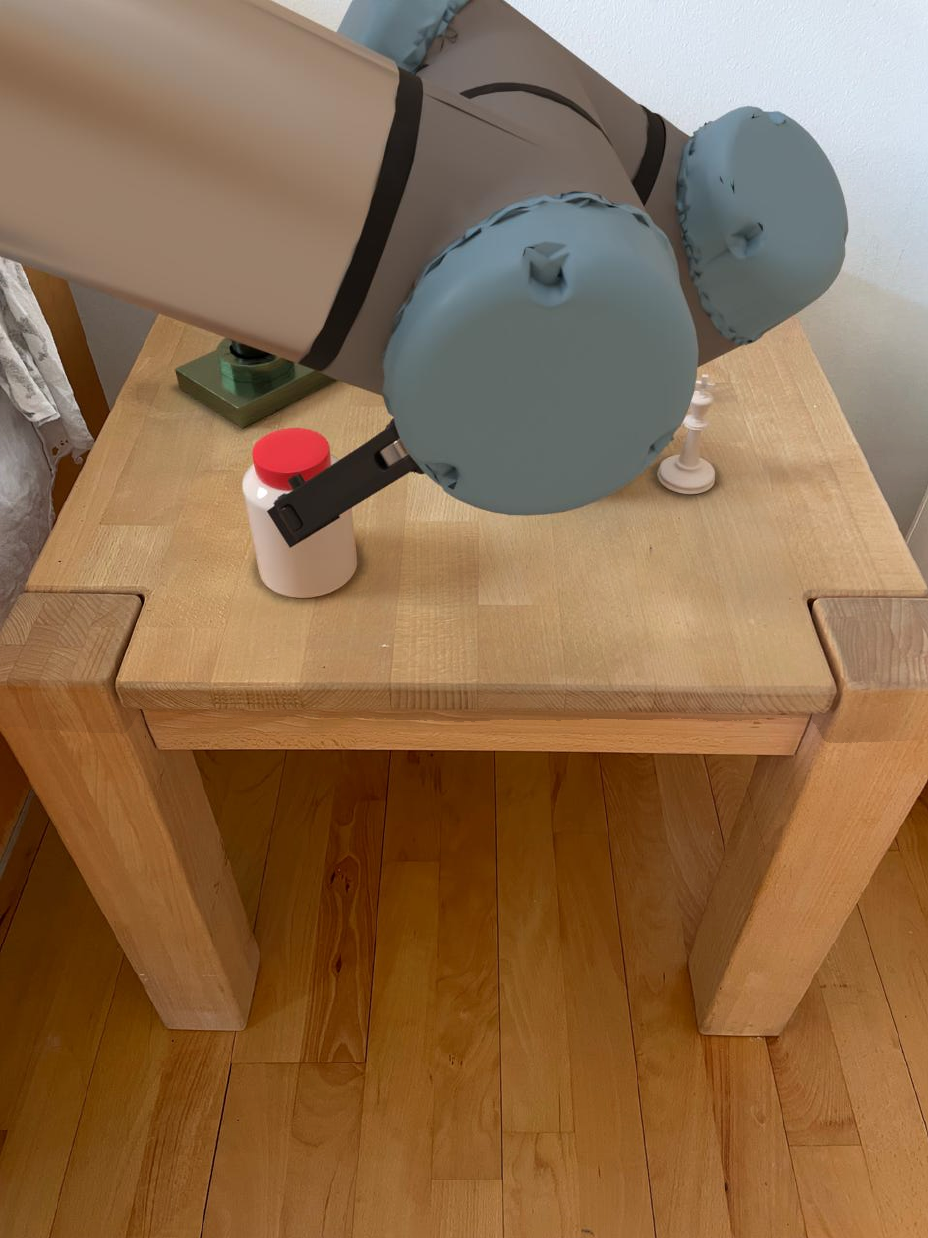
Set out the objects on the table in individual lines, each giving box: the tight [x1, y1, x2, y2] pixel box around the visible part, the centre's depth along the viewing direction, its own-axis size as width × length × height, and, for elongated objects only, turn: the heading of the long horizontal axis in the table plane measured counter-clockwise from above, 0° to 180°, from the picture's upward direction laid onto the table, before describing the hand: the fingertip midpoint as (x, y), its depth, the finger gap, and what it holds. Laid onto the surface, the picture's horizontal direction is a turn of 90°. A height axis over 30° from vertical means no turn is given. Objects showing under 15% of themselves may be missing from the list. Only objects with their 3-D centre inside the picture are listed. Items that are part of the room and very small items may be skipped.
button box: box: [174, 337, 337, 429], centre depth 96 cm, size 12×10×4 cm
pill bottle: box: [241, 427, 358, 599], centre depth 75 cm, size 8×8×11 cm
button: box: [231, 340, 271, 360], centre depth 95 cm, size 4×4×2 cm
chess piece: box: [657, 373, 716, 495], centre depth 83 cm, size 5×5×10 cm
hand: (363, 479), depth 66 cm, fingers open, 13 cm apart
